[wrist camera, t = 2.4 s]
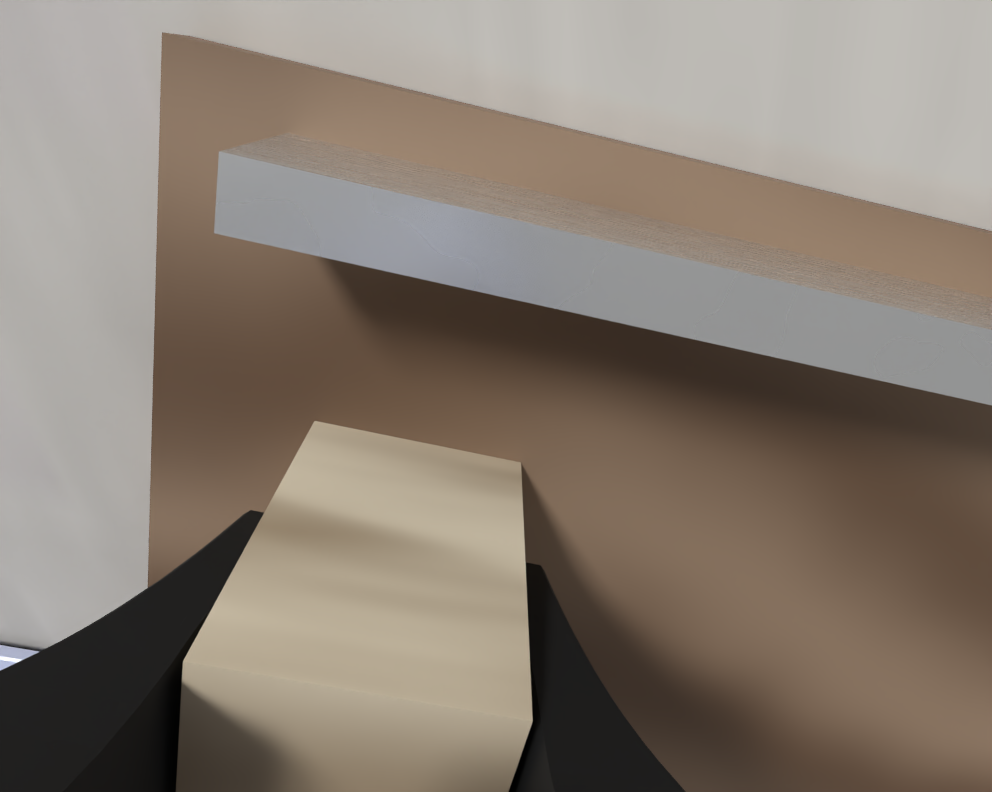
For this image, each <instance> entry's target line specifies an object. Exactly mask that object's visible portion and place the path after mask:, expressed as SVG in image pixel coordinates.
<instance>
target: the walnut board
mask: <svg viewBox="0 0 992 792" xmlns="http://www.w3.org/2000/svg"><path fill="white" fill-rule="evenodd" d="M286 133H291V134H295V135H300V136H304V137H308V138H313V139H317V140H321V141H325V142H330V143H334V144H338V145H342V146H347V147H351V148H355V149H359V150H364V151H368V152H372V153H376V154H381V155H385V156H389V157H393V158H398V159H402V160H406V161H410V162H415V163H419V164H423V165H427V166H432V167H436V168H440V169H444V170H449V171H453V172H457V173H461V174H466V175H470V176H474V177H478V178H483V179H487V180H491V181H495V182H500V183H504V184H508V185H512V186H517V187H521V188H525V189H529V190H534V191H538V192H542V193H547V194H551V195H555V196H559V197H564V198H568V199H572V200H576V201H581V202H585V203H589V204H593V205H598V206H602V207H606V208H610V209H615V210H619V211H623V212H627V213H632V214H636V215H640V216H644V217H649V218H653V219H657V220H661V221H666V222H670V223H674V224H678V225H683V226H687V227H691V228H695V229H700V230H704V231H708V232H712V233H717V234H721V235H725V236H729V237H734V238H738V239H742V240H746V241H751V242H755V243H759V244H763V245H768V246H772V247H776V248H781V249H785V250H789V251H793V252H798V253H802V254H806V255H810V256H815V257H819V258H823V259H827V260H832V261H836V262H840V263H844V264H849V265H853V266H857V267H861V268H866V269H870V270H874V271H878V272H883V273H887V274H891V275H895V276H900V277H904V278H908V279H912V280H917V281H921V282H925V283H929V284H934V285H938V286H942V287H946V288H951V289H955V290H959V291H963V292H968V293H972V294H976V295H980V296H985V297H989V298H992V231H988V230H984V229H980V228H976V227H972V226H967V225H963V224H959V223H955V222H951V221H947V220H943V219H939V218H935V217H930V216H926V215H922V214H918V213H914V212H910V211H906V210H902V209H898V208H894V207H889V206H885V205H881V204H877V203H873V202H869V201H865V200H861V199H857V198H852V197H848V196H844V195H840V194H836V193H832V192H828V191H824V190H820V189H815V188H811V187H807V186H803V185H799V184H795V183H791V182H787V181H783V180H779V179H774V178H770V177H766V176H762V175H758V174H754V173H750V172H746V171H742V170H737V169H733V168H729V167H725V166H721V165H717V164H713V163H709V162H705V161H701V160H696V159H692V158H688V157H684V156H680V155H676V154H672V153H668V152H664V151H659V150H655V149H651V148H647V147H643V146H639V145H635V144H631V143H627V142H623V141H618V140H614V139H610V138H606V137H602V136H598V135H594V134H590V133H586V132H581V131H577V130H573V129H569V128H565V127H561V126H557V125H553V124H549V123H544V122H540V121H536V120H532V119H528V118H524V117H520V116H516V115H512V114H508V113H503V112H499V111H495V110H491V109H487V108H483V107H479V106H475V105H471V104H466V103H462V102H458V101H454V100H450V99H446V98H442V97H438V96H434V95H430V94H425V93H421V92H417V91H413V90H409V89H405V88H401V87H397V86H393V85H388V84H384V83H380V82H376V81H372V80H368V79H364V78H360V77H356V76H352V75H347V74H343V73H339V72H335V71H331V70H327V69H323V68H319V67H315V66H310V65H306V64H302V63H298V62H294V61H290V60H286V59H282V58H278V57H273V56H269V55H265V54H261V53H257V52H253V51H249V50H245V49H241V48H237V47H232V46H228V45H224V44H220V43H216V42H212V41H208V40H204V39H200V38H195V37H191V36H185V35H178V34H170V33H162V58H161V97H160V136H159V175H158V213H157V252H156V291H155V330H154V368H153V407H152V446H151V485H150V523H149V562H148V587H150V586H151V585H153V584H154V583H156V582H157V581H159V580H160V579H162V578H163V577H164V576H166V575H167V574H169V573H170V572H171V571H173V570H174V569H175V568H177V567H178V566H179V565H181V564H182V563H183V562H185V561H186V560H187V559H189V558H190V557H191V556H193V555H194V554H195V553H197V552H198V551H199V550H200V549H202V548H203V547H204V546H205V545H207V544H208V543H209V542H211V541H212V540H213V539H214V538H216V537H217V536H218V535H219V534H220V533H222V532H223V531H224V530H225V529H226V528H228V527H229V526H230V525H231V524H232V523H234V522H235V521H236V520H237V519H238V518H240V517H241V516H242V515H243V514H245V513H246V512H248V511H250V510H253V511H259V512H265V510H266V509H267V507H268V505H269V503H270V501H271V500H272V498H273V496H274V494H275V492H276V490H277V489H278V487H279V485H280V483H281V481H282V479H283V478H284V476H285V474H286V472H287V470H288V468H289V467H290V465H291V463H292V461H293V459H294V457H295V456H296V454H297V452H298V450H299V448H300V447H301V445H302V443H303V441H304V439H305V437H306V436H307V434H308V432H309V430H310V428H311V426H312V425H313V423H314V421H318V422H323V423H328V424H333V425H338V426H343V427H348V428H353V429H358V430H363V431H368V432H373V433H377V434H382V435H387V436H392V437H397V438H402V439H407V440H412V441H417V442H422V443H427V444H432V445H437V446H442V447H447V448H452V449H457V450H462V451H467V452H472V453H476V454H481V455H486V456H491V457H496V458H501V459H506V460H511V461H516V462H521V474H522V496H523V518H524V540H525V562H527V563H532V564H537V565H541V566H542V568H543V569H544V571H545V573H546V575H547V578H548V580H549V582H550V584H551V587H552V589H553V591H554V593H555V595H556V598H557V600H558V602H559V604H560V606H561V608H562V610H563V612H564V614H565V616H566V618H567V620H568V622H569V624H570V626H571V628H572V630H573V632H574V634H575V636H576V638H577V639H578V641H579V643H580V645H581V647H582V649H583V650H584V652H585V654H586V656H587V658H588V659H589V661H590V663H591V665H592V666H593V668H594V670H595V671H596V673H597V675H598V676H599V678H600V680H601V681H602V683H603V684H604V686H605V688H606V689H607V691H608V692H609V694H610V696H611V697H612V699H613V700H614V702H615V703H616V705H617V706H618V708H619V709H620V711H621V712H622V713H623V715H624V716H625V718H626V719H627V721H628V722H629V723H630V725H631V726H632V727H633V729H634V730H635V731H636V733H637V734H638V735H639V737H640V738H641V739H642V741H643V742H644V743H645V745H646V746H647V747H648V748H649V749H650V751H651V752H652V753H653V754H654V756H655V757H656V758H657V759H658V761H659V762H660V763H661V764H662V765H663V766H664V767H665V769H666V770H667V771H668V772H669V773H670V774H671V775H672V777H673V778H674V779H675V780H676V781H677V782H678V783H679V785H680V786H681V787H682V788H683V789H684V790H685V791H686V792H992V405H988V404H983V403H979V402H974V401H970V400H965V399H961V398H956V397H952V396H947V395H943V394H938V393H934V392H929V391H924V390H920V389H915V388H911V387H906V386H902V385H897V384H893V383H888V382H884V381H879V380H875V379H870V378H866V377H861V376H857V375H852V374H848V373H843V372H839V371H834V370H830V369H825V368H821V367H816V366H812V365H807V364H803V363H798V362H794V361H789V360H784V359H780V358H775V357H771V356H766V355H762V354H757V353H753V352H748V351H744V350H739V349H735V348H730V347H726V346H721V345H717V344H712V343H708V342H703V341H699V340H694V339H690V338H685V337H681V336H676V335H672V334H667V333H663V332H658V331H653V330H649V329H644V328H640V327H635V326H631V325H626V324H622V323H617V322H613V321H608V320H604V319H599V318H595V317H590V316H586V315H581V314H577V313H572V312H568V311H563V310H559V309H554V308H550V307H545V306H541V305H536V304H532V303H527V302H522V301H518V300H513V299H509V298H504V297H500V296H495V295H491V294H486V293H482V292H477V291H473V290H468V289H464V288H459V287H455V286H450V285H446V284H441V283H437V282H432V281H428V280H423V279H419V278H414V277H410V276H405V275H401V274H396V273H391V272H387V271H382V270H378V269H373V268H369V267H364V266H360V265H355V264H351V263H346V262H342V261H337V260H333V259H328V258H324V257H319V256H315V255H310V254H306V253H301V252H297V251H292V250H288V249H283V248H279V247H274V246H270V245H265V244H261V243H256V242H251V241H247V240H242V239H238V238H233V237H229V236H224V235H220V234H215V233H214V226H215V209H216V192H217V175H218V158H219V151H222V150H226V149H230V148H233V147H237V146H241V145H245V144H248V143H252V142H256V141H260V140H263V139H267V138H271V137H275V136H278V135H282V134H286Z"/></svg>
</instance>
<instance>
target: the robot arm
mask: <svg viewBox="0 0 992 792" xmlns="http://www.w3.org/2000/svg"><path fill="white" fill-rule="evenodd" d="M263 514H264V512H259V511H253V510H250V511H248V512H246V513H245V514H243V515H242V516H241V517H240V518H238V519H237V520H236V521H235V522H234V523H232V524H231V525H230V526H229V527H228V528H226V529H225V530H224V531H223V532H222V533H220V534H219V535H218V536H217V537H216V538H214V539H213V540H212V541H211V542H209V543H208V544H207V545H205V546H204V547H203V548H202V549H200V550H199V551H198V552H197V553H195V554H194V555H193V556H191V557H190V558H189V559H187V560H186V561H185V562H183V563H182V564H181V565H179V566H178V567H177V568H175V569H174V570H173V571H171V572H170V573H169V574H167V575H166V576H164V577H163V578H162V579H160V580H159V581H157V582H156V583H154V584H153V585H151V586H150V587H148V588H147V589H145V590H144V591H142V592H141V593H140V594H138V595H137V596H135V597H134V598H132V599H131V600H129V601H128V602H126V603H125V604H123V605H122V606H120V607H118V608H117V609H115V610H114V611H112V612H110V613H109V614H107V615H105V616H104V617H102V618H101V619H99V620H97V621H96V622H94V623H92V624H90V625H89V626H87V627H85V628H83V629H82V630H80V631H78V632H76V633H74V634H73V635H71V636H69V637H67V638H66V639H64V640H62V641H60V642H58V643H56V644H54V645H52V646H50V647H48V648H46V649H44V650H42V651H40V652H39V651H33V650H27V649H21V648H15V647H10V646H4V645H0V792H176V778H177V760H178V742H179V724H180V705H181V687H182V669H183V660H184V659H185V657H186V655H187V653H188V651H189V649H190V648H191V646H192V644H193V642H194V640H195V638H196V637H197V635H198V633H199V631H200V629H201V628H202V626H203V624H204V622H205V620H206V618H207V617H208V615H209V613H210V611H211V609H212V607H213V606H214V604H215V602H216V600H217V598H218V596H219V595H220V593H221V591H222V589H223V587H224V585H225V584H226V582H227V580H228V578H229V576H230V574H231V573H232V571H233V569H234V567H235V565H236V564H237V562H238V560H239V558H240V556H241V554H242V553H243V551H244V549H245V547H246V545H247V543H248V542H249V540H250V538H251V536H252V534H253V532H254V531H255V529H256V527H257V525H258V523H259V521H260V520H261V518H262V516H263ZM526 584H527V606H528V628H529V651H530V673H531V695H532V717H533V722H532V725H531V728H530V731H529V734H528V736H527V739H526V742H525V745H524V748H523V751H522V754H521V757H520V760H519V763H518V766H517V768H516V771H515V774H514V777H513V780H512V783H511V786H510V789H509V792H686V791H685V790H684V789H683V788H682V787H681V786H680V785H679V783H678V782H677V781H676V780H675V779H674V778H673V777H672V775H671V774H670V773H669V772H668V771H667V770H666V769H665V767H664V766H663V765H662V764H661V763H660V762H659V761H658V759H657V758H656V757H655V756H654V754H653V753H652V752H651V751H650V749H649V748H648V747H647V746H646V745H645V743H644V742H643V741H642V739H641V738H640V737H639V735H638V734H637V733H636V731H635V730H634V729H633V727H632V726H631V725H630V723H629V722H628V721H627V719H626V718H625V716H624V715H623V713H622V712H621V711H620V709H619V708H618V706H617V705H616V703H615V702H614V700H613V699H612V697H611V696H610V694H609V692H608V691H607V689H606V688H605V686H604V684H603V683H602V681H601V680H600V678H599V676H598V675H597V673H596V671H595V670H594V668H593V666H592V665H591V663H590V661H589V659H588V658H587V656H586V654H585V652H584V650H583V649H582V647H581V645H580V643H579V641H578V639H577V638H576V636H575V634H574V632H573V630H572V628H571V626H570V624H569V622H568V620H567V618H566V616H565V614H564V612H563V610H562V608H561V606H560V604H559V602H558V600H557V598H556V595H555V593H554V591H553V589H552V587H551V584H550V582H549V580H548V578H547V575H546V573H545V571H544V569H543V568H542V566H541V565H537V564H532V563H527V562H526Z"/></svg>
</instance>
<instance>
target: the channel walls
mask: <svg viewBox="0 0 992 792" xmlns="http://www.w3.org/2000/svg"><path fill="white" fill-rule="evenodd" d="M214 233H215V234H220V235H224V236H229V237H233V238H238V239H242V240H247V241H251V242H256V243H261V244H265V245H270V246H274V247H279V248H283V249H288V250H292V251H297V252H301V253H306V254H310V255H315V256H319V257H324V258H328V259H333V260H337V261H342V262H346V263H351V264H355V265H360V266H364V267H369V268H373V269H378V270H382V271H387V272H391V273H396V274H401V275H405V276H410V277H414V278H419V279H423V280H428V281H432V282H437V283H441V284H446V285H450V286H455V287H459V288H464V289H468V290H473V291H477V292H482V293H486V294H491V295H495V296H500V297H504V298H509V299H513V300H518V301H522V302H527V303H532V304H536V305H541V306H545V307H550V308H554V309H559V310H563V311H568V312H572V313H577V314H581V315H586V316H590V317H595V318H599V319H604V320H608V321H613V322H617V323H622V324H626V325H631V326H635V327H640V328H644V329H649V330H653V331H658V332H663V333H667V334H672V335H676V336H681V337H685V338H690V339H694V340H699V341H703V342H708V343H712V344H717V345H721V346H726V347H730V348H735V349H739V350H744V351H748V352H753V353H757V354H762V355H766V356H771V357H775V358H780V359H784V360H789V361H794V362H798V363H803V364H807V365H812V366H816V367H821V368H825V369H830V370H834V371H839V372H843V373H848V374H852V375H857V376H861V377H866V378H870V379H875V380H879V381H884V382H888V383H893V384H897V385H902V386H906V387H911V388H915V389H920V390H924V391H929V392H934V393H938V394H943V395H947V396H952V397H956V398H961V399H965V400H970V401H974V402H979V403H983V404H988V405H992V298H989V297H985V296H980V295H976V294H972V293H968V292H963V291H959V290H955V289H951V288H946V287H942V286H938V285H934V284H929V283H925V282H921V281H917V280H912V279H908V278H904V277H900V276H895V275H891V274H887V273H883V272H878V271H874V270H870V269H866V268H861V267H857V266H853V265H849V264H844V263H840V262H836V261H832V260H827V259H823V258H819V257H815V256H810V255H806V254H802V253H798V252H793V251H789V250H785V249H781V248H776V247H772V246H768V245H763V244H759V243H755V242H751V241H746V240H742V239H738V238H734V237H729V236H725V235H721V234H717V233H712V232H708V231H704V230H700V229H695V228H691V227H687V226H683V225H678V224H674V223H670V222H666V221H661V220H657V219H653V218H649V217H644V216H640V215H636V214H632V213H627V212H623V211H619V210H615V209H610V208H606V207H602V206H598V205H593V204H589V203H585V202H581V201H576V200H572V199H568V198H564V197H559V196H555V195H551V194H547V193H542V192H538V191H534V190H529V189H525V188H521V187H517V186H512V185H508V184H504V183H500V182H495V181H491V180H487V179H483V178H478V177H474V176H470V175H466V174H461V173H457V172H453V171H449V170H444V169H440V168H436V167H432V166H427V165H423V164H419V163H415V162H410V161H406V160H402V159H398V158H393V157H389V156H385V155H381V154H376V153H372V152H368V151H364V150H359V149H355V148H351V147H347V146H342V145H338V144H334V143H330V142H325V141H321V140H317V139H313V138H308V137H304V136H300V135H295V134H291V133H286V134H282V135H278V136H275V137H271V138H267V139H263V140H260V141H256V142H252V143H248V144H245V145H241V146H237V147H233V148H230V149H226V150H222V151H219V158H218V175H217V192H216V209H215V226H214Z"/></svg>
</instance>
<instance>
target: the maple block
mask: <svg viewBox="0 0 992 792" xmlns="http://www.w3.org/2000/svg"><path fill="white" fill-rule="evenodd" d="M532 722H533V717H532V695H531V673H530V651H529V628H528V606H527V584H526V562H525V540H524V518H523V496H522V474H521V462H516V461H511V460H506V459H501V458H496V457H491V456H486V455H481V454H476V453H472V452H467V451H462V450H457V449H452V448H447V447H442V446H437V445H432V444H427V443H422V442H417V441H412V440H407V439H402V438H397V437H392V436H387V435H382V434H377V433H373V432H368V431H363V430H358V429H353V428H348V427H343V426H338V425H333V424H328V423H323V422H318V421H314V423H313V425H312V426H311V428H310V430H309V432H308V434H307V436H306V437H305V439H304V441H303V443H302V445H301V447H300V448H299V450H298V452H297V454H296V456H295V457H294V459H293V461H292V463H291V465H290V467H289V468H288V470H287V472H286V474H285V476H284V478H283V479H282V481H281V483H280V485H279V487H278V489H277V490H276V492H275V494H274V496H273V498H272V500H271V501H270V503H269V505H268V507H267V509H266V510H265V512H264V514H263V516H262V518H261V520H260V521H259V523H258V525H257V527H256V529H255V531H254V532H253V534H252V536H251V538H250V540H249V542H248V543H247V545H246V547H245V549H244V551H243V553H242V554H241V556H240V558H239V560H238V562H237V564H236V565H235V567H234V569H233V571H232V573H231V574H230V576H229V578H228V580H227V582H226V584H225V585H224V587H223V589H222V591H221V593H220V595H219V596H218V598H217V600H216V602H215V604H214V606H213V607H212V609H211V611H210V613H209V615H208V617H207V618H206V620H205V622H204V624H203V626H202V628H201V629H200V631H199V633H198V635H197V637H196V638H195V640H194V642H193V644H192V646H191V648H190V649H189V651H188V653H187V655H186V657H185V659H184V660H183V669H182V687H181V705H180V724H179V742H178V760H177V778H176V792H509V789H510V786H511V783H512V780H513V777H514V774H515V771H516V768H517V766H518V763H519V760H520V757H521V754H522V751H523V748H524V745H525V742H526V739H527V736H528V734H529V731H530V728H531V725H532Z"/></svg>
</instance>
